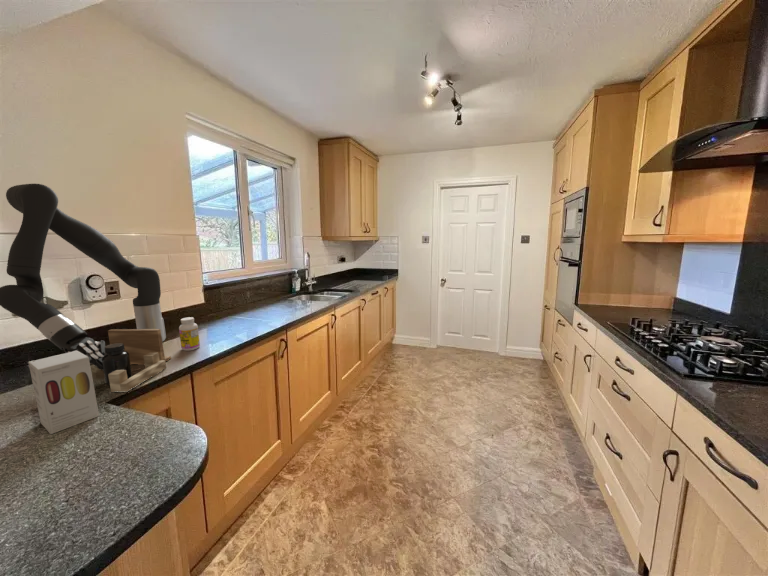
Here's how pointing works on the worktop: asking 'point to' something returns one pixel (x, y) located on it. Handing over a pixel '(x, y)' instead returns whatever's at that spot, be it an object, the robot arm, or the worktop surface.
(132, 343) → the oak screen
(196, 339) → the supplement bottle
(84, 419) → the supplement box
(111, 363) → the supplement bottle
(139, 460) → the worktop surface
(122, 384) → the stop bay
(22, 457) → the worktop surface
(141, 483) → the worktop surface
